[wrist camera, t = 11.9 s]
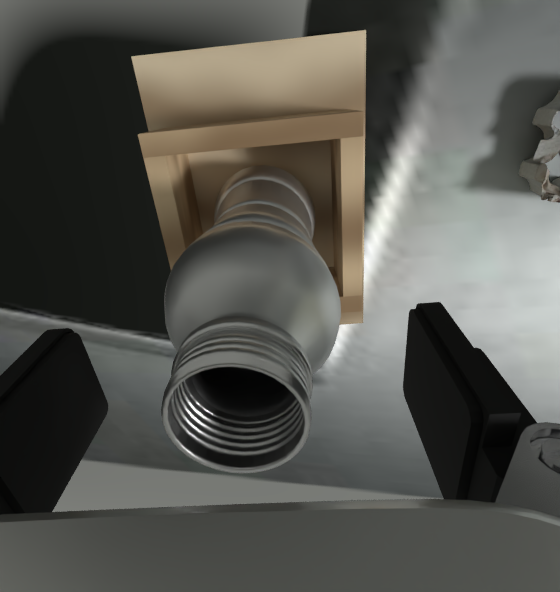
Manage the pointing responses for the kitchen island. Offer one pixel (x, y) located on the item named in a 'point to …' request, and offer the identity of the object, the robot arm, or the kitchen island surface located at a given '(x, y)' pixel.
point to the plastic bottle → (249, 326)
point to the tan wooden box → (261, 138)
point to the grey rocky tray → (544, 154)
